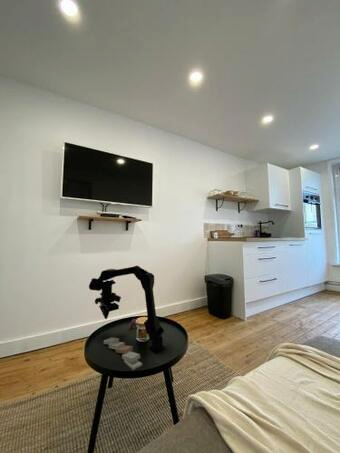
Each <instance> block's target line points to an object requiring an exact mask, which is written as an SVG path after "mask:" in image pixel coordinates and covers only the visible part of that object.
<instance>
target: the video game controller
mask: <svg viewBox="0 0 340 453" xmlns="http://www.w3.org/2000/svg"><path fill="white" fill-rule="evenodd" d="M137 319H138V318H133V319H132V320H131V321H130V323H129V325H128V331H130V330H131V329H132V328H133V329H137V328H136V325H137V324H135V321H136V320H137Z"/></svg>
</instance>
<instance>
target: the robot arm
mask: <svg viewBox="0 0 340 453" xmlns="http://www.w3.org/2000/svg"><path fill="white" fill-rule="evenodd" d="M127 275H134V276H135V278H136V279H137V280H139V282H140V284H141V288H142V289H143V291H144V297H145V308H146V313H147V318H146V320H145V321H144V324H145V325H144V331H145V332H146V334H147V335H148V339H149V340H150V346H148V347H147V348H148V350H150V351H152V353H155V354H157V353H159V352H161V351H163V350H165V347H164V346H163V343H164V342H163V341H164V338H163V334H164V333H165V329H163V327H162V326H161V324H160V320H159V318H158V316H157V314H156V305H155V304H156V303H155V295H154V286H155V275H154V274H153V273H152V272H149V271H147V270H146V269H144V268H142V267H141V266H139V265H135V266H129V267H126V268H125V267H124V268H119V269H116V268H108V269H105V270H102V271H101V272H100V275H99V277H98V278H95V277H94V278H91V281H90V282H89V285H88V289H89V290H90V291H96V292H97V291H98V292H100V293H99V295H100V296H101V297H96V298H95V300H94V304H95V305H98V304H99V306H98V307H99V309H100V311H101V314H102V315H103V318H104V319H105V320H107V319H108V317H109V314H110V312H113V311H114V312H115V311H116V310H119V309H120V305H119V304H118V303H120V301H121V299H122V296H120V295H117V293H116V292H113V285H115V284H116V281H114V278H116V277H122V276H127Z"/></svg>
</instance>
